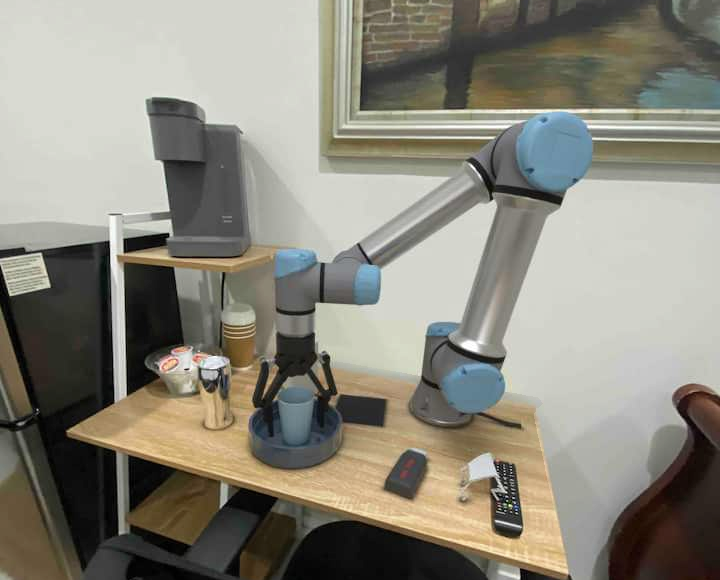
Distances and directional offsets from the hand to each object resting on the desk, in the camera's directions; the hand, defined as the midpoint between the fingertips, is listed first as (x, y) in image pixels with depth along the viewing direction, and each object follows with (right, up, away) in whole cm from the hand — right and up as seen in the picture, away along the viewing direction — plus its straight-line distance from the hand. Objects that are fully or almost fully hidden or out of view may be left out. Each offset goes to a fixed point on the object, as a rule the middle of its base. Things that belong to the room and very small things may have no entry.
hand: (296, 428), depth 83 cm
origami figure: (+37, -9, -9) cm, 39 cm away
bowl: (0, -3, +1) cm, 3 cm away
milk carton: (-2, +5, +21) cm, 22 cm away
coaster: (+14, +1, +14) cm, 19 cm away
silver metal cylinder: (-19, 0, +6) cm, 19 cm away
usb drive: (+23, -7, -7) cm, 25 cm away
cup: (0, -2, +1) cm, 2 cm away
